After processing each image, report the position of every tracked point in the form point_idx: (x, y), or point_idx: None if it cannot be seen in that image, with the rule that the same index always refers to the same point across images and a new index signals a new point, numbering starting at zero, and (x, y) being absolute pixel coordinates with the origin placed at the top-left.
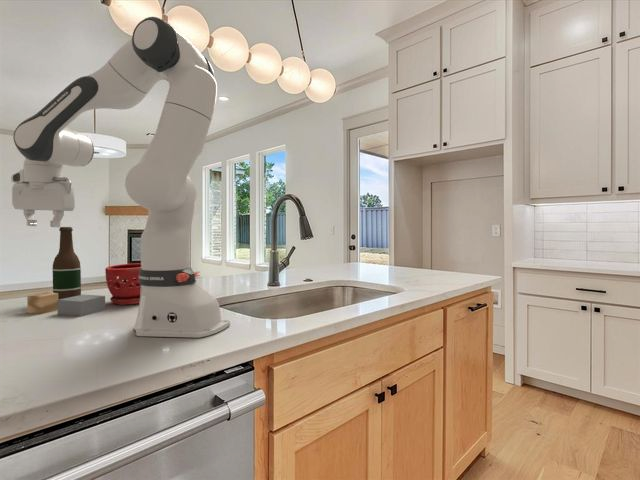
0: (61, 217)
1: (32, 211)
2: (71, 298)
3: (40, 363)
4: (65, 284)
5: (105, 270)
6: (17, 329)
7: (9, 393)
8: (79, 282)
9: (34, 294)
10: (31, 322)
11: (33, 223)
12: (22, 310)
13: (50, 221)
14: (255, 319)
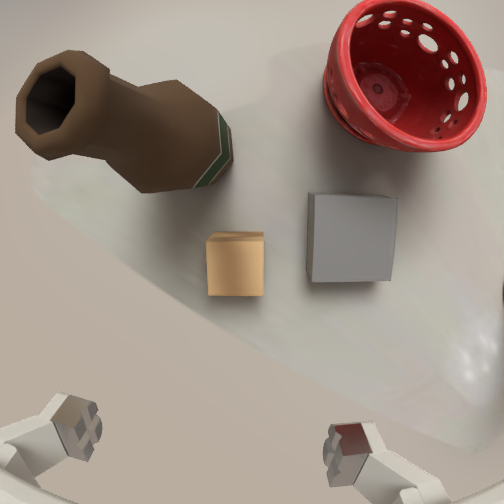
0: (415, 472)
1: (17, 475)
2: (334, 256)
3: (462, 423)
4: (213, 175)
5: (368, 122)
6: (336, 375)
7: (470, 449)
8: (225, 127)
9: (213, 278)
10: (315, 338)
11: (87, 424)
12: (175, 262)
13: (331, 482)
14: None
